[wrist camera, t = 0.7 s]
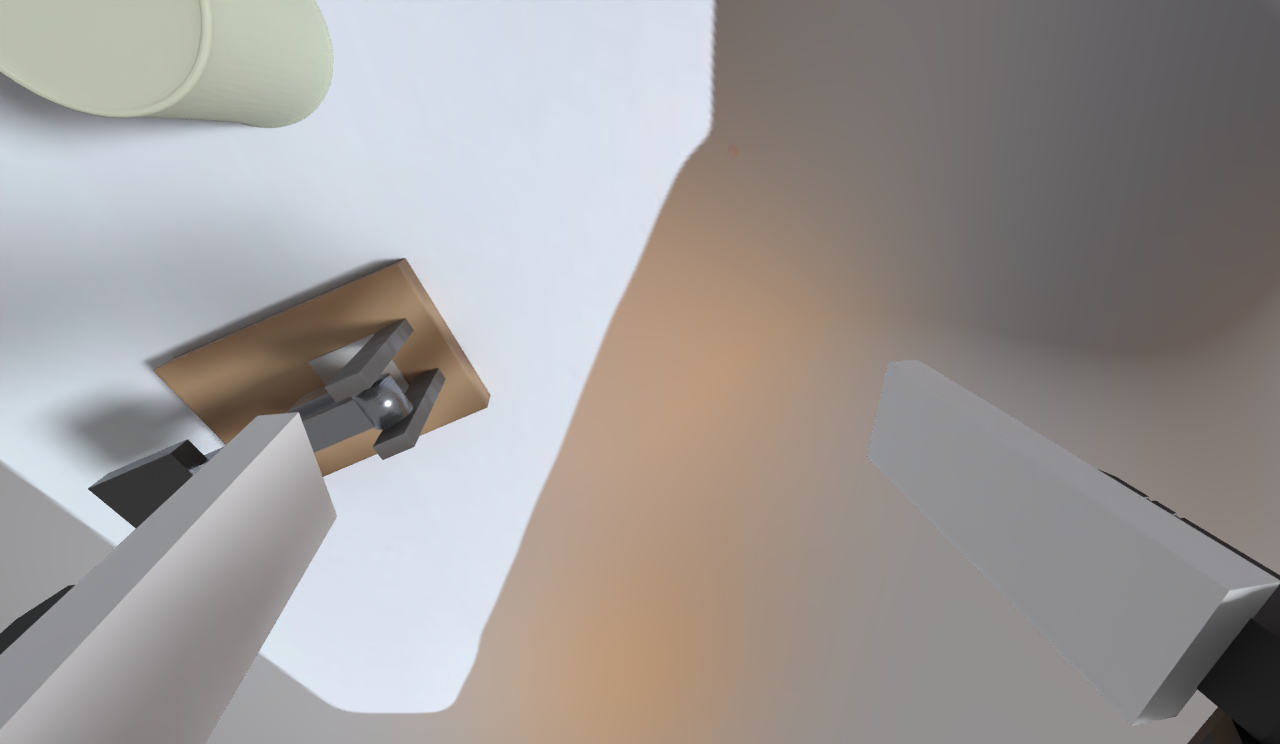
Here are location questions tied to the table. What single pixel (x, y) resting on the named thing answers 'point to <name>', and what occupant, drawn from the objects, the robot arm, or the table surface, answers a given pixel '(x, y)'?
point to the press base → (336, 364)
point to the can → (171, 57)
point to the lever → (168, 470)
